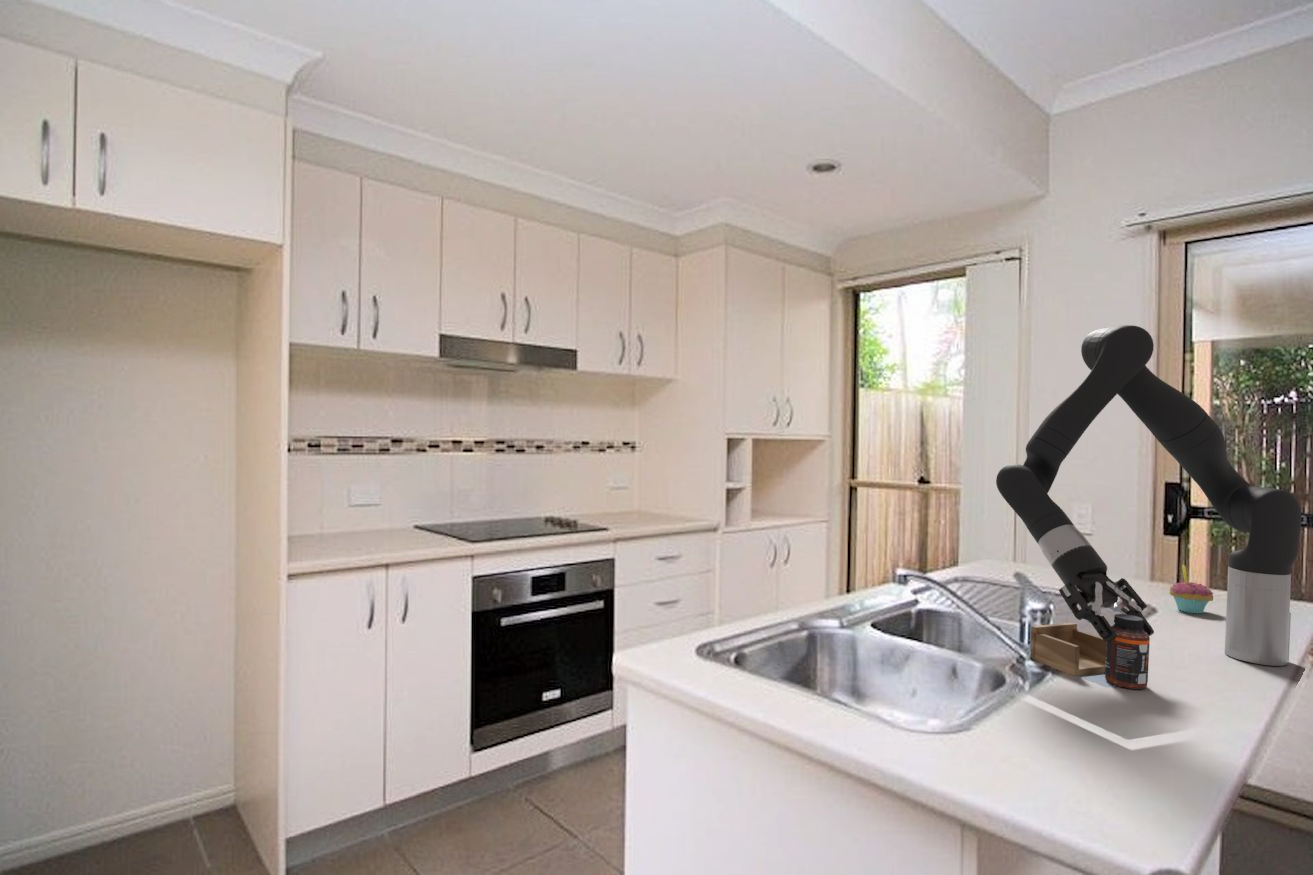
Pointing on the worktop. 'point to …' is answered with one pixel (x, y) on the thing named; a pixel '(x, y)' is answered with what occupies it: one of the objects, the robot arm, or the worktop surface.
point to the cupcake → (1190, 595)
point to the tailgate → (1100, 680)
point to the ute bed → (1068, 649)
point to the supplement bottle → (1128, 653)
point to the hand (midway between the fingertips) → (1130, 637)
